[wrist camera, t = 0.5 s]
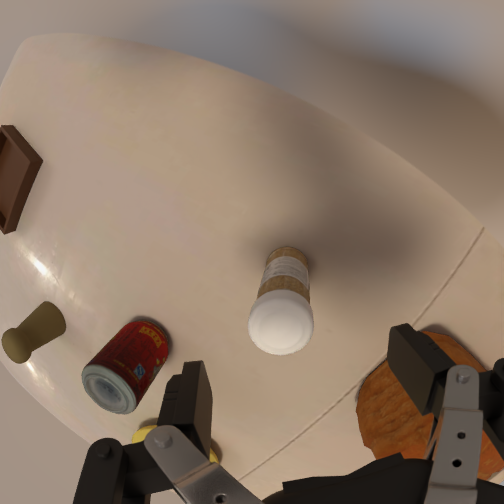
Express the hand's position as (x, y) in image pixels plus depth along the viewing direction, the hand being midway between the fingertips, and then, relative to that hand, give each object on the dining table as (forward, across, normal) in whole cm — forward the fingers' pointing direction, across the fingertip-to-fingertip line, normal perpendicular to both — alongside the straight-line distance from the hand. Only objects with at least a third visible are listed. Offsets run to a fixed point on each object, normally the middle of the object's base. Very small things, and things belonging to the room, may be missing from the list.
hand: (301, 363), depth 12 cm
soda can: (+25, +16, +12) cm, 32 cm away
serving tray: (+29, +36, -14) cm, 48 cm away
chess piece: (+28, +34, +10) cm, 45 cm away
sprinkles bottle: (+21, -3, +3) cm, 22 cm away
